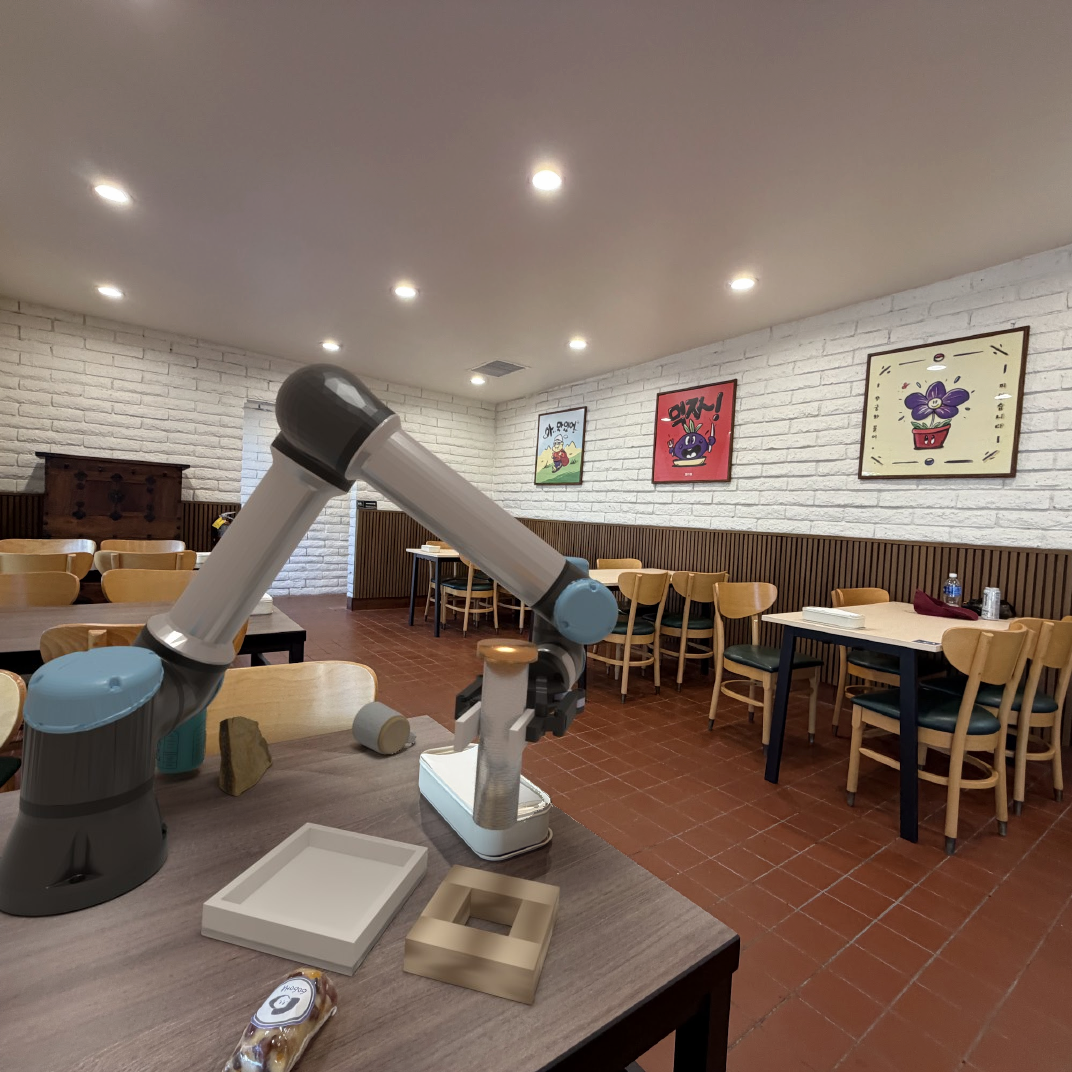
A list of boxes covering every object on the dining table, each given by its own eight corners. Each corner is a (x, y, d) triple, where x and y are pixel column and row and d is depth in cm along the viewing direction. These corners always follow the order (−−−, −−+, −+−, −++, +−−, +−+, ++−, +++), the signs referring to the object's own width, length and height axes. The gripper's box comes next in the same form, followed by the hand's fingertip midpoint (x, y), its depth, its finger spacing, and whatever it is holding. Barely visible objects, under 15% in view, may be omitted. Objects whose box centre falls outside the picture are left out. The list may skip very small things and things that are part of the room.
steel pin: (455, 827, 53) (468, 646, 53) (476, 799, 59) (488, 636, 59) (516, 840, 52) (530, 654, 52) (531, 810, 58) (544, 642, 58)
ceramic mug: (377, 762, 95) (381, 716, 95) (349, 748, 100) (353, 704, 100) (425, 747, 104) (429, 705, 104) (397, 734, 109) (400, 694, 109)
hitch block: (403, 970, 51) (405, 938, 51) (452, 891, 63) (454, 864, 63) (531, 1005, 49) (533, 970, 48) (557, 914, 60) (559, 887, 60)
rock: (258, 742, 94) (196, 750, 86) (284, 707, 92) (224, 713, 84) (281, 799, 89) (218, 814, 81) (309, 763, 87) (248, 775, 79)
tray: (201, 935, 54) (203, 903, 54) (305, 846, 69) (307, 822, 69) (351, 976, 50) (353, 943, 50) (426, 873, 66) (428, 847, 66)
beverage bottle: (212, 773, 87) (221, 644, 87) (165, 788, 81) (174, 650, 81) (190, 761, 90) (199, 637, 90) (144, 775, 85) (153, 642, 85)
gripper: (606, 717, 71) (578, 800, 48) (475, 698, 75) (392, 766, 52) (611, 658, 71) (585, 713, 48) (480, 642, 75) (398, 686, 52)
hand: (485, 740), depth 50 cm, fingers closed on steel pin, 4 cm apart
